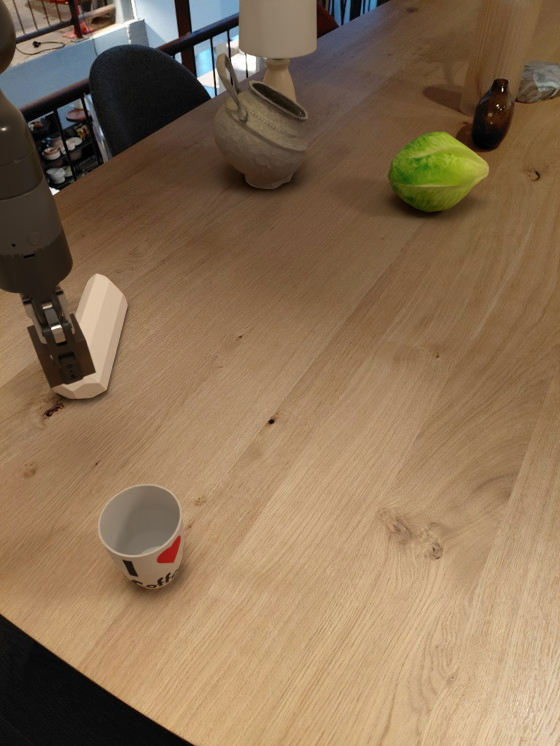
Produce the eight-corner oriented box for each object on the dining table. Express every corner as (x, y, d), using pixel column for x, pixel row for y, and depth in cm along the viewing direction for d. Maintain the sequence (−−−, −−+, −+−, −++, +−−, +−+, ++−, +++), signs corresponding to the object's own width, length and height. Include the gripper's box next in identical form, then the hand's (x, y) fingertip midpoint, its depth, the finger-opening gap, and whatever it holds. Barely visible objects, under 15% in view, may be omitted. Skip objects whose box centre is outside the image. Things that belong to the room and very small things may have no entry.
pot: (200, 189, 125) (187, 65, 107) (240, 153, 139) (235, 37, 121) (286, 208, 119) (288, 80, 102) (320, 168, 133) (326, 49, 115)
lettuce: (489, 221, 117) (501, 166, 105) (390, 231, 119) (391, 179, 108) (477, 172, 124) (487, 117, 113) (384, 183, 127) (384, 130, 115)
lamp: (314, 118, 155) (322, -50, 129) (310, 146, 142) (318, -34, 116) (247, 115, 156) (241, -52, 130) (236, 142, 143) (228, -36, 117)
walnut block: (50, 388, 61) (36, 354, 57) (40, 360, 64) (26, 326, 61) (96, 372, 63) (85, 338, 59) (84, 346, 66) (73, 312, 62)
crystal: (69, 282, 93) (29, 387, 76) (102, 263, 91) (68, 366, 74) (100, 312, 98) (69, 417, 81) (133, 295, 96) (107, 399, 79)
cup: (125, 614, 59) (105, 569, 52) (111, 547, 64) (91, 498, 57) (201, 586, 61) (191, 539, 54) (181, 523, 66) (170, 473, 59)
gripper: (-38, 204, 54) (19, 338, 66) (-13, 281, 45) (48, 420, 57) (42, 186, 57) (83, 318, 69) (80, 256, 48) (120, 394, 60)
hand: (67, 364), depth 63 cm, fingers closed on walnut block, 5 cm apart
